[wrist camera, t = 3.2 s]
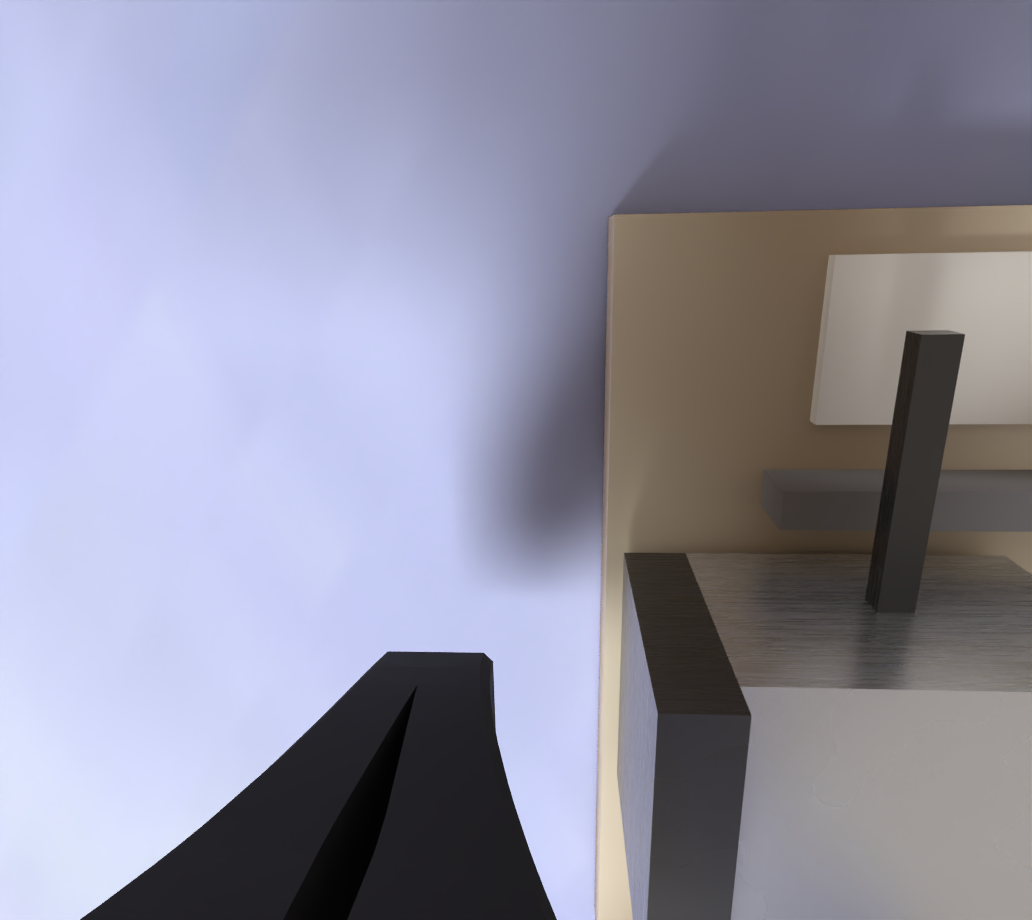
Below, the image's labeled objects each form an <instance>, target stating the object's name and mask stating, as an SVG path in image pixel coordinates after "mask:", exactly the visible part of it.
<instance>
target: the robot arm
mask: <svg viewBox="0 0 1032 920" xmlns="http://www.w3.org/2000/svg"><path fill="white" fill-rule="evenodd" d="M80 920H557V919H556V917H555V914H554V912H553V909H552V907H551V905H550V902H549V900H548V897H547V895H546V892H545V890H544V887H543V885H542V882H541V880H540V877H539V874H538V872H537V869H536V866H535V864H534V861H533V858H532V856H531V853H530V850H529V847H528V844H527V841H526V838H525V835H524V833H523V830H522V827H521V824H520V821H519V818H518V815H517V812H516V809H515V805H514V802H513V799H512V795H511V792H510V788H509V785H508V782H507V778H506V774H505V770H504V766H503V762H502V758H501V754H500V750H499V746H498V742H497V737H496V730H495V704H494V679H493V661H492V660H491V659H490V658H489V657H488V656H487V655H485V654H484V653H454V652H387V653H386V654H385V655H384V656H383V657H382V658H381V659H380V660H378V661H377V662H376V663H375V664H374V665H373V666H372V667H371V668H370V669H369V670H368V671H367V672H366V673H365V674H364V675H363V676H362V677H361V678H360V679H359V680H358V681H357V682H356V683H355V684H354V685H353V686H352V687H351V688H350V689H349V690H348V691H347V692H346V693H345V694H344V695H343V696H342V697H341V698H340V699H339V700H338V701H337V702H336V703H335V704H334V705H333V706H332V707H331V708H330V709H329V710H328V711H327V712H326V713H325V714H324V715H323V716H322V717H321V718H320V719H319V720H318V721H317V722H316V723H315V724H314V725H313V726H312V727H311V728H310V729H309V730H308V731H307V732H306V733H305V734H304V735H303V736H302V737H301V738H299V739H298V740H297V741H296V742H295V743H294V744H293V745H292V746H291V747H290V748H289V749H288V750H287V751H286V752H285V753H284V754H283V755H282V756H281V757H280V758H279V759H278V760H276V761H275V762H274V763H273V764H272V765H271V766H270V767H269V768H268V769H267V770H266V771H265V772H264V773H262V774H261V775H260V776H259V777H258V778H257V779H256V780H254V781H253V782H252V783H251V784H250V785H249V786H248V787H246V788H245V789H244V790H243V791H242V792H241V793H240V794H238V795H237V796H236V797H235V798H234V799H233V800H232V801H231V802H229V803H228V804H227V805H226V806H225V807H224V808H223V809H221V810H220V811H219V812H218V813H217V814H216V815H215V816H213V817H212V818H211V819H210V820H209V821H208V822H207V823H205V824H204V825H203V826H202V827H201V828H199V829H198V830H197V831H196V832H194V833H193V834H192V835H191V836H190V837H188V838H187V839H186V840H185V841H183V842H182V843H181V844H180V845H178V846H177V847H176V848H175V849H173V850H172V851H171V852H170V853H168V854H167V855H166V856H164V857H163V858H162V859H161V860H159V861H158V862H157V863H156V864H154V865H153V866H152V867H150V868H149V869H148V870H146V871H145V872H144V873H142V874H141V875H140V876H138V877H137V878H136V879H134V880H133V881H132V882H130V883H129V884H128V885H126V886H125V887H124V888H122V889H121V890H120V891H118V892H117V893H116V894H114V895H113V896H112V897H110V898H109V899H108V900H106V901H105V902H104V903H102V904H101V905H100V906H98V907H97V908H96V909H94V910H93V911H91V912H90V913H89V914H87V915H86V916H84V917H83V918H82V919H80Z"/></svg>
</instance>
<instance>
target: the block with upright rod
mask: <svg viewBox="0 0 1032 920" xmlns="http://www.w3.org/2000/svg"><path fill="white" fill-rule="evenodd" d="M964 339H965V334H962V333H958V332H954V331H949V330H925V331H906V337H905V343H904V350H903V356H902V362H901V369H900V375H899V382H898V388H897V395H896V401H895V408H894V414H893V421H892V427H891V434H890V440H889V447H888V453H887V460H886V466H885V473H884V479H883V486H882V492H881V499H880V505H879V512H878V518H877V524H876V531H875V537H874V544H873V550H872V554H741V553H624V566H623V597H622V629H621V661H620V693H619V725H618V757H617V779H618V789H619V798H620V807H621V816H622V825H623V834H624V843H625V852H626V861H627V870H628V880H629V889H630V898H631V907H632V916H633V920H1032V575H1031V574H1030V573H1029V572H1027V571H1026V570H1024V569H1023V568H1022V567H1020V566H1019V565H1017V564H1016V563H1014V562H1013V561H1012V560H1010V559H1009V558H1007V557H1006V556H1005V555H925V554H926V549H927V543H928V538H929V532H930V527H931V521H932V516H933V510H934V505H935V499H936V493H937V488H938V482H939V477H940V471H941V466H942V460H943V455H944V449H945V444H946V438H947V433H948V427H949V422H950V416H951V411H952V405H953V399H954V394H955V388H956V383H957V377H958V372H959V366H960V361H961V355H962V350H963V344H964Z"/></svg>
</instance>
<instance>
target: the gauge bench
mask: <svg viewBox="0 0 1032 920" xmlns="http://www.w3.org/2000/svg"><path fill="white" fill-rule="evenodd" d="M925 330H949V331H954V332H958V333H962V334H965V339H964V344H963V350H962V355H961V361H960V366H959V372H958V377H957V383H956V388H955V394H954V399H953V405H952V411H951V416H950V422H949V427H948V433H947V438H946V444H945V449H944V455H943V460H942V466H941V471H940V477H939V482H938V488H937V493H936V499H935V505H934V510H933V516H932V521H931V527H930V532H929V538H928V543H927V549H926V554H925V555H1005V556H1006V557H1007V558H1009V559H1010V560H1012V561H1013V562H1014V563H1016V564H1017V565H1019V566H1020V567H1022V568H1023V569H1024V570H1026V571H1027V572H1029V573H1030V574H1031V575H1032V205H1003V206H960V207H918V208H875V209H832V210H789V211H746V212H703V213H660V214H617V215H613V216H610V217H609V221H608V270H607V319H606V368H605V417H604V466H603V515H602V564H601V613H600V662H599V711H598V759H597V808H596V857H595V920H633V916H632V907H631V898H630V889H629V880H628V870H627V861H626V852H625V843H624V834H623V825H622V816H621V807H620V798H619V789H618V779H617V757H618V725H619V693H620V661H621V629H622V597H623V566H624V553H741V554H872V550H873V544H874V537H875V531H876V524H877V518H878V512H879V505H880V499H881V492H882V486H883V479H884V473H885V466H886V460H887V453H888V447H889V440H890V434H891V427H892V421H893V414H894V408H895V401H896V395H897V388H898V382H899V375H900V369H901V362H902V356H903V350H904V343H905V337H906V331H925Z"/></svg>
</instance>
